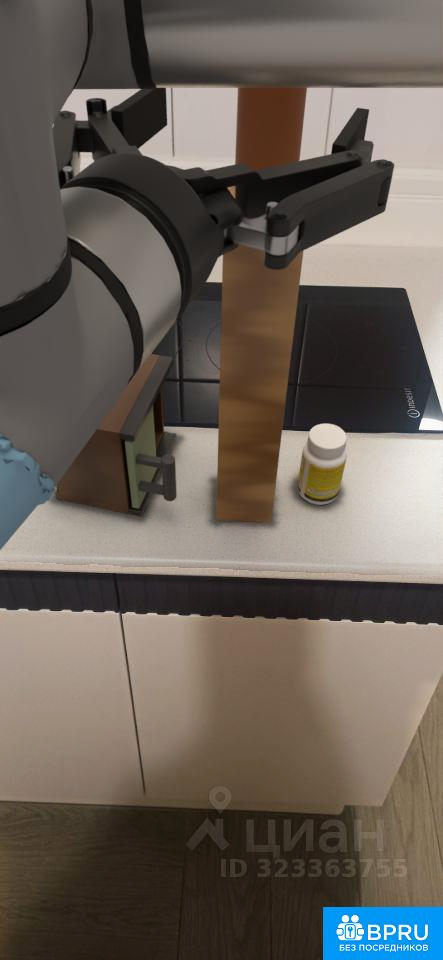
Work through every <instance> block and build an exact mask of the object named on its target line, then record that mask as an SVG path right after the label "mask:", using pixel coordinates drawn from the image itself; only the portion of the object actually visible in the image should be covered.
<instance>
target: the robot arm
mask: <svg viewBox="0 0 443 960" xmlns="http://www.w3.org/2000/svg"><path fill="white" fill-rule="evenodd" d="M168 88H171V89H181V88H182V89H187V88H188V89H194V88H195V89H200V88H201V89H219V88H220V89H225V88H226V89H227V88H228V89H236V88H237V89H238V88H307V89H443V0H0V551H1V550H2V549H3V548H4V547H5V545H6V544H7V543H8V542H9V541H10V539H11V538H12V537H13V536H14V534H15V533H16V532H17V531H18V530H19V529H20V527H21V526H22V525H23V524H24V523H25V522H26V520H27V519H28V518H29V517H30V515H32V513H33V512H34V511H35V509H36V508H37V507H38V506H40V505H41V506H42V505H44V504H45V503H46V502H49V501H50V499H51V497H53V494H54V493H55V492H56V490H55V488H57V487H56V485H57V484H58V482H59V481H60V480H61V478H62V477H63V475H64V474H65V473H66V471H67V470H68V469H69V467H70V466H71V464H72V463H73V462H74V460H75V459H76V457H77V456H78V455H79V453H80V452H81V450H82V449H83V448H84V446H85V445H86V444H87V442H88V441H89V439H90V438H91V437H92V435H93V434H94V432H95V431H96V430H97V428H98V427H99V425H100V424H101V423H102V421H103V420H104V418H105V417H106V416H107V414H108V413H109V412H110V410H111V409H112V407H113V406H114V405H115V403H116V402H117V400H118V399H119V398H120V396H121V395H122V393H123V392H124V391H125V389H126V388H127V385H128V384H129V382H130V381H131V380H132V379H133V377H134V376H135V375H136V373H137V372H138V371H139V369H140V368H141V367H142V365H143V364H144V363H145V361H146V360H147V359H148V357H149V356H150V355H151V354H152V353H153V352H154V351H155V349H156V348H157V347H158V345H159V344H160V343H161V341H162V340H163V339H164V337H165V336H166V335H167V334H168V332H169V331H170V329H171V328H172V327H173V325H174V324H175V323H176V322H177V321H178V320H179V319H180V318H181V316H182V315H183V314H184V313H185V311H186V310H187V308H189V306H190V305H191V303H192V302H193V301H194V299H195V298H196V297H197V296H198V294H199V293H200V291H201V290H202V289H203V287H204V286H205V285H206V283H207V281H208V279H209V278H210V276H211V274H212V271H213V269H214V267H215V265H216V263H217V261H218V259H219V258H220V257H223V254H225V253H228V252H231V251H233V250H234V249H236V248H237V247H238V246H239V245H243V246H247V247H251V248H255V249H259V250H262V251H264V265H265V266H266V267H267V268H269V269H273V270H281V269H285V268H286V267H287V266H288V265H289V264H290V263H291V262H292V261H293V260H294V258H295V257H296V256H297V255H298V254H299V253H300V252H301V251H303V252H304V251H306V250H308V249H309V248H312V247H314V246H316V245H318V244H320V243H322V242H325V241H326V240H328V239H331V238H333V237H336V236H337V235H339V234H341V233H343V232H345V231H347V230H349V229H352V228H353V227H356V226H358V225H360V224H362V223H364V222H366V221H368V220H370V219H373V218H374V217H377V216H379V215H381V214H383V213H384V212H386V209H387V204H388V201H389V200H388V199H389V194H390V190H391V185H392V180H393V175H394V169H395V163H394V162H392V160H388V159H385V158H384V159H382V158H381V159H375V160H372V156H373V152H374V145H375V144H374V142H373V140H367V139H366V140H365V138H366V133H367V128H368V127H367V126H368V119H369V114H370V109H369V108H363V107H357V108H356V109H355V110H354V112H353V113H352V115H351V116H350V118H349V119H348V121H347V122H346V123H345V125H344V126H343V128H342V129H341V131H340V133H338V135H337V136H336V138H335V139H334V141H333V143H332V144H331V152H330V154H325V155H320V156H315V157H312V158H307V159H306V158H305V159H302V160H300V161H297V162H292V163H287V164H283V165H278V166H273V167H268V168H264V169H259V170H253V169H252V168H250V167H249V166H247V165H246V164H244V163H240V164H235V163H234V164H230V165H226V166H222V167H216V168H212V169H208V170H207V169H204V168H202V167H198V166H195V167H191V168H186V169H185V168H184V169H183V168H180V167H177V166H174V165H168V164H165V163H163V162H162V161H159V160H158V159H155V158H153V157H151V156H147V155H144V154H142V152H141V151H140V148H141V147H142V146H144V145H145V144H146V143H147V142H149V141H150V140H151V139H153V137H155V136H156V135H157V134H158V133H160V132H161V131H162V130H163V129H164V128H165V127H167V126H168V107H167V106H168V105H167V104H168V103H167V102H168V101H167V89H168ZM74 90H138V91H136V92H135V93H133V94H132V95H131V96H129V97H127V98H126V99H125V100H123V101H122V102H120V103H119V104H117V105H114V106H112V107H111V108H110V109H108V105H107V100H106V99H105V98H101V97H93V98H88V99H86V100H85V105H86V115H87V120H80V119H79V120H78V119H77V113H76V112H73V111H69V110H62V109H63V108H64V106H65V104H66V102H67V100H68V98H69V97H70V96H71V95H72V93H73V92H74ZM82 153H91V157H92V160H93V162H91V163H90V164H89V165H88V166H86V167H85V168H84V169H82V170H81V161H82ZM232 186H236V187H235V198H234V197H233V195H232V194H231V192H230V191H229V189H228V187H232Z"/></svg>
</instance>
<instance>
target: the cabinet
mask: <svg viewBox="0 0 443 960" xmlns="http://www.w3.org/2000/svg"><path fill="white" fill-rule="evenodd" d="M173 365H174V357H170V356H166V355H158V354H152V353H151V355H150V356H149V357H148V359H147V360H146V361H145V363H144V364H143V365H142V367H141V368H140V369H139V371H138V372H137V373H136V375H135V376H134V377H133V379H132V380H131V381H130V382H129V384H128V385H127V388H126V389H125V391H124V392H123V393H122V395H121V396H120V398H119V399H118V400H117V402H116V403H115V405H114V406H113V407H112V409H111V410H110V412H109V413H108V414H107V416H106V417H105V418H104V420H103V421H102V423H101V424H100V425H99V427H98V428H97V430H96V431H95V432H94V434H93V435H92V437H91V438H90V439H89V441H88V442H87V444H86V445H85V446H84V448H83V449H82V450H81V452H80V453H79V455H78V456H77V457H76V459H75V460H74V462H73V463H72V464H71V466H70V467H69V469H68V470H67V471H66V473H65V474H64V475H63V477H62V478H61V480H60V481H59V482H58V484H57V485H56V487H55V488H56V490H55V498H56V499H57V500H61V501H66V502H70V503H75V504H80V505H85V506H89V507H95V508H99V509H103V510H110V511H114V512H118V513H122V514H128V515H133V516H138V517H143V515H144V513H145V511H146V509H147V506H148V504H149V502H150V499H151V497H152V495H153V493H149V492H146V494H145V497H144V499H143V501H142V503H141V506H140V508H139V509H138V508H133V507H132V500H131V491H130V482H129V473H128V465H127V456H126V447H125V440H129V441H135V440H136V438H137V436H138V434H139V432H140V430H141V428H142V426H143V424H144V422H145V420H146V418H147V416H148V414H149V412H150V410H151V408H152V406H153V415H154V430H155V444H156V457H160V458H162V457H163V456H164V455H167V454H170V455H171V452H172V449H173V447H174V445H175V442H176V440H177V434H176V433H173V432H168V431H165V419H164V418H165V417H164V402H163V401H164V400H163V398H164V397H163V385H164V384H165V382H166V380H167V377H168V376H169V374H170V371H171V370H172V369H173ZM161 475H162V469H161V468H157V470H156V472H155V474H154V476H153V479H152V481H151V483H156V484H158V482H159V479H160V476H161Z"/></svg>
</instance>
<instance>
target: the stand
mask: <svg viewBox="0 0 443 960" xmlns="http://www.w3.org/2000/svg"><path fill="white" fill-rule="evenodd" d="M235 187H236V186H232V187H228V189H229V191H230V192H231V194H232V195H233V197H234V198H235ZM303 259H304V250H303V251H301V252H300V253H299V254H298V255H297V256H296V257H295V258H294V260H293V261H292V262H291V263H290V264H289V265H288V266H287V267H286V268H285V269H281V270H273V269H269V268H267V267H266V266H265V265H264V251H262V250H259V249H255V248H251V247H247V246H243V245H239V246H238V247H237V248H236V249H234V250H233V251H231V252H228V253H225V254H223V255H222V275H221V310H220V311H221V312H220V313H221V314H220V351H219V352H220V354H219V356H220V357H219V393H218V398H219V400H218V432H217V433H218V435H217V436H218V437H217V470H216V471H217V472H216V473H217V474H216V509H215V511H216V512H215V513H216V514H215V515H216V517H215V520H216V521H223V522H254V523H255V522H256V523H257V522H258V523H259V522H260V523H272V520H273V511H274V502H275V495H276V486H277V477H278V469H279V468H278V467H279V460H280V451H281V442H282V436H283V435H282V434H283V427H284V419H285V410H286V401H287V392H288V385H289V378H290V377H289V375H290V370H291V369H290V367H291V359H292V352H293V351H292V350H293V342H294V336H295V335H294V333H295V327H296V325H295V324H296V317H297V309H298V299H299V294H300V293H299V292H300V282H301V275H302V267H303Z"/></svg>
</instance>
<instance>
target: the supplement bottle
mask: <svg viewBox="0 0 443 960" xmlns="http://www.w3.org/2000/svg"><path fill="white" fill-rule="evenodd" d="M346 447H347V434H346V432H345V430H343V429H342V428H341V427H340V426H338V425H336V424H332V423H319V424H316V425H314V426H313V427H312V428H311V429H310V430H309V433H308V437H307V441H306V442H305V443H304V445H303V447H302V451H301V459H300V466H299V472H298V479H297V487H296V488H297V492H298V494H299V495H300V497H301V498H302V499H304V500H305V501H307V503H310V504H312V505H313V504H314V505H321V506H322V505H328V504H330V503H333V501H335V500H336V499H337V498H338V496H339V493H340V490H341V485H342V480H343V475H344V472H345V471H344V470H345V466H346V463H347V456H348V452H347V449H346Z"/></svg>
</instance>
